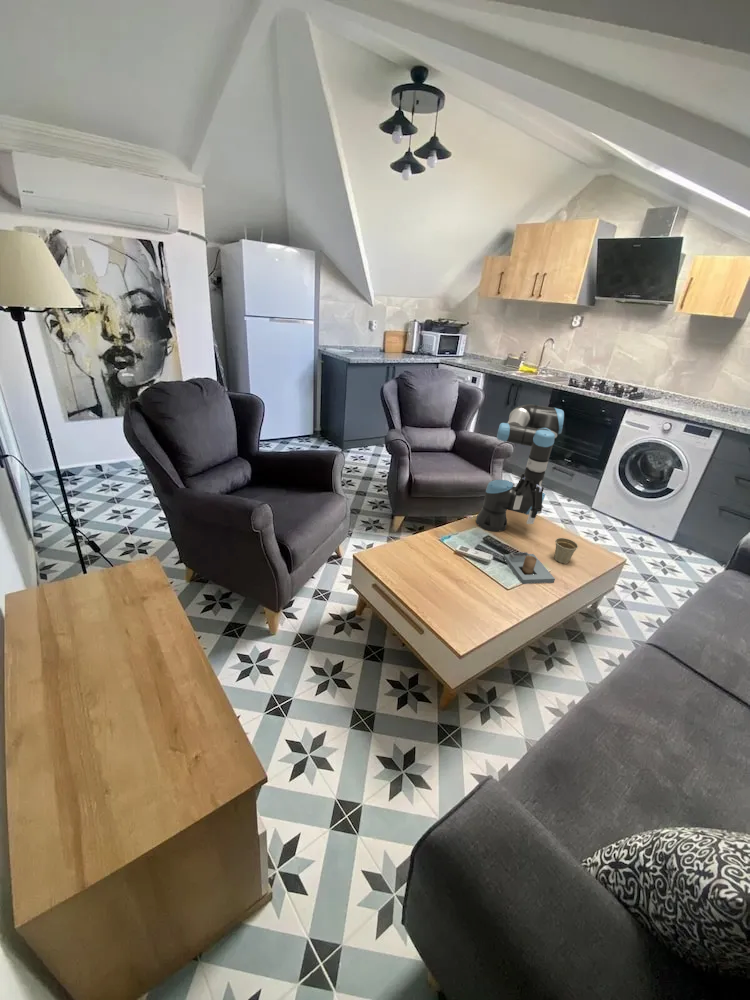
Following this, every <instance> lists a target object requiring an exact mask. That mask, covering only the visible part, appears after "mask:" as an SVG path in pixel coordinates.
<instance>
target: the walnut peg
mask: <svg viewBox="0 0 750 1000" xmlns="http://www.w3.org/2000/svg"><path fill="white" fill-rule="evenodd" d="M537 559H538V558H537ZM537 559H536V558H535V557H533V556H529V555H528V556H526V557H525V560H524V564H523V567H522V570H521V571H522V572H523V573H524V575H533V570H534V567H535V564H536V561H537Z"/></svg>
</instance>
